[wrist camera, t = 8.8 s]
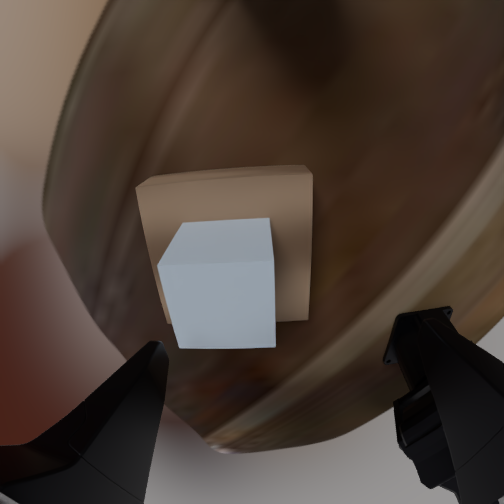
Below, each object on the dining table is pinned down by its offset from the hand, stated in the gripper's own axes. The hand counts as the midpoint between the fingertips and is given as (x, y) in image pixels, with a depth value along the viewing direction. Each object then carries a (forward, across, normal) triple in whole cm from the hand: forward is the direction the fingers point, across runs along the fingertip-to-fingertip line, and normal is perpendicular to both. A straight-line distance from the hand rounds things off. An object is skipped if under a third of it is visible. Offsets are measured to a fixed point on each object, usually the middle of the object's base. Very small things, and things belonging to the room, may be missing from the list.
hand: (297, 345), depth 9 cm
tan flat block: (+12, +3, +1) cm, 12 cm away
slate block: (+9, +3, +1) cm, 10 cm away
